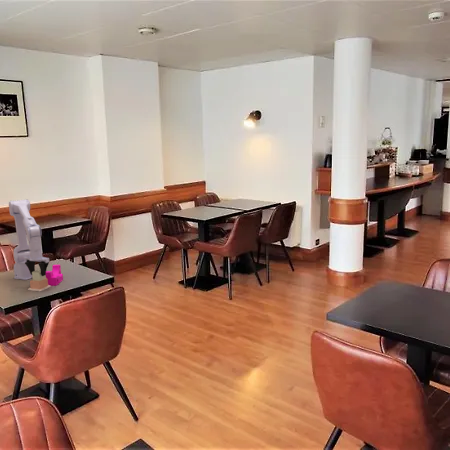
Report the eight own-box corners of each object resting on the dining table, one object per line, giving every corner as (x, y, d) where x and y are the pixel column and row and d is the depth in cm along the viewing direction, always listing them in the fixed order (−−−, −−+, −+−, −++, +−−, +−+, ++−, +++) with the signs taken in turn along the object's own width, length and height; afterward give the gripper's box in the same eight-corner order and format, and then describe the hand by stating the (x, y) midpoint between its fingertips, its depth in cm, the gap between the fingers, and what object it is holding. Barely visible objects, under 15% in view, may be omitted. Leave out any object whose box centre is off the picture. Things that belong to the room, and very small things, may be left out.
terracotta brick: (30, 288, 235) (29, 280, 234) (39, 284, 241) (38, 277, 240) (39, 289, 233) (39, 282, 232) (48, 285, 239) (47, 278, 238)
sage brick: (38, 277, 239) (37, 269, 238) (45, 278, 238) (45, 270, 237) (32, 280, 235) (31, 272, 234) (40, 281, 234) (39, 272, 233)
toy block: (56, 286, 241) (55, 272, 240) (44, 286, 241) (43, 272, 239) (66, 277, 256) (64, 264, 254) (54, 277, 256) (53, 264, 254)
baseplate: (27, 289, 235) (27, 288, 235) (39, 285, 242) (38, 284, 242) (40, 291, 232) (40, 290, 232) (51, 286, 239) (51, 285, 239)
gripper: (18, 250, 232) (21, 275, 235) (41, 252, 227) (43, 278, 230) (28, 247, 238) (31, 272, 241) (51, 248, 233) (53, 274, 236)
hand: (38, 274), depth 236 cm, fingers open, 6 cm apart
